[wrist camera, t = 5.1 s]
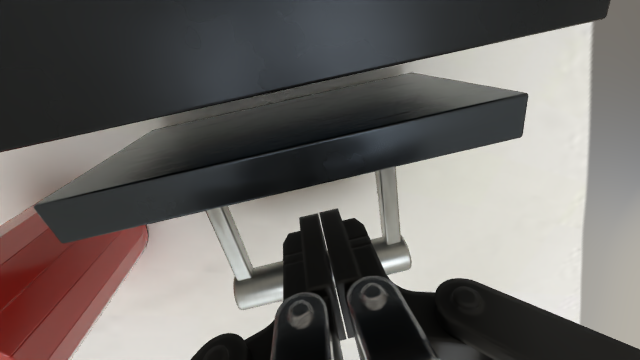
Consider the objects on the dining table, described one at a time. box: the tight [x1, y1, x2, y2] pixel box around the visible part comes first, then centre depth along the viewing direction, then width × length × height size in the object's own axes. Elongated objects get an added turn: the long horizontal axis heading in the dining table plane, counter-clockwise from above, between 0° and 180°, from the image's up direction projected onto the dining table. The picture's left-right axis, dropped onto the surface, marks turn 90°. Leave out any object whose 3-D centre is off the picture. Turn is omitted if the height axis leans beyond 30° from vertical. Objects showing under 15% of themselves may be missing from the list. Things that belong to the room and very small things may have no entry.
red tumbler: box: [0, 198, 148, 360], centre depth 12 cm, size 5×5×8 cm
